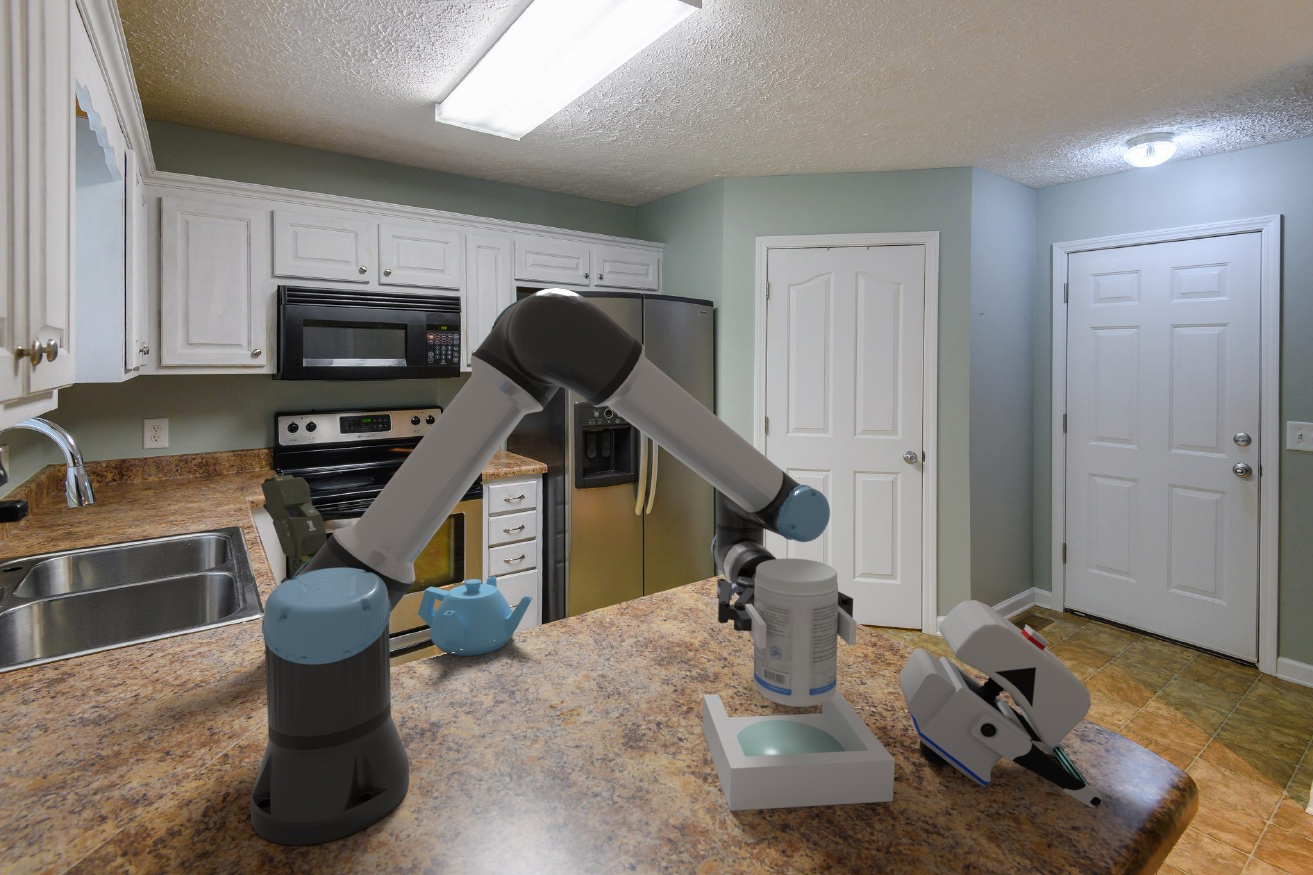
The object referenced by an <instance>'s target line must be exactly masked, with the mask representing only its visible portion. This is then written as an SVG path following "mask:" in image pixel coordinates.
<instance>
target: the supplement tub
mask: <svg viewBox="0 0 1313 875" xmlns="http://www.w3.org/2000/svg"><path fill="white" fill-rule="evenodd" d="M838 586H839V583H838V572H837V570H836V569H835V568H834V567H832V566H831V565H830V564H826V563H823V562H820V561H817V560H812V559H811V560H810V559H804V558H776V559H774V560H768V561H765V562H762V563H760V564H759V565H758V566H757V567H756V577H755V593H754V608H755V610H756V611H757V612H758V614H759V615H760V616H761V618H762V619H763V621H764V622H765V623H766V648H764V649H759V648H758V646H757V645H756V643H755V641H754V640H753V683H754V686H755V688H756V690H757V691H758V692H759V694H760V695H762V696H763V697H765V698H766V699H767V700H770V701H772V702H774V703H777V704H779V705H780V704H781V705H785V706H789V707H796V708H797V707H799V708H804V707H813V706H816V705H822V703H824V702H826V701H828V700H829V699H830V698H831V697H832V696H833V695H834V693H835V690H837V689H836V688H837V672H838V671H837V667H838V663H837V662H838V634H837V627H838V591H839V587H838Z"/></svg>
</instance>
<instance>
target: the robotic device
mask: <svg viewBox="0 0 1313 875" xmlns="http://www.w3.org/2000/svg"><path fill="white" fill-rule="evenodd" d="M1024 626H1025V627H1024V628H1023V629H1021V628H1019V627H1018V626H1016V625H1015V624H1014V623H1012V622H1011V621H1010V620H1008V619H1007V618H1006V617H1004V616H1003V615H1002V614H1000V613H999V612H997V611H996V610H994V608H992V607H990V606H989V605H988V604H986V603H983V602H981V601H979V600H976V599H974V600H973V599H972V600H963V601H962V602H960V603H958V605H956V606H954V607H953V608H952V609H951V610H950V612H949V613H948V614H947V615H946V616H945V618H943V620H942V621H941V622H940V624H939V627H938V629H939V632H940V634H941V636H942V637H943V639H944V640H945V642H946V643H947V645H948V647H949V648H950V650H951V651H952V653H953V655H954V657H955V658H956V659H957V660H958V661H960V662H961V663H962V664H964V665H968V666H969V667H971V668H974V669H975V670H977V671H979V672H981V673H982V674H984V675H986V676H987V677H988V678H987V681H984V682H983V684H982V683H980V682H979V681H977V680H976V679H975V678H974V677H973V676H971V675H970V674H969V673H967V672H966V671H965V670H963V669H962V668H961V667H959V666H958V665H957V664H955V662H953V661H951V660H950V659H949V658H947V657H946V656H945V655H943V656H941V657H940V658H937V657H936V656H935V655H933V654H932V653H931V652H929V651H928V650H926V649H925V648H921V647H920V648H916V649H914V651H913V652H912V653H911V655H910V657H909V658H908V660H907V661H906V664H905V665H904V666H903V668H902V670H901V671H900V673H899V675H898V679H897V680H898V684H899V686H900V689H901V692H902V695H903V697H904V701H905V702H906V703H905V704H906V706H907V709H908V712H909V715H910V717H911V719H912V722H913V725H914V728H915V730H916V732H917V735H918V738H919V740H920V741H919V751H920V753H921V755H922V756H923V758H924V759H925V760H926V761H927V762H928V763H930V764H931V765H934V766H937V767H939V766H941V767H942V766H947V765H951V766H952V767H954V769H956V770H957V771H959V772H960V773H961V774H962V775H964V776H965V777H966V778H968V779H969V780H971V781H973V782H974V783H976V784H978V785H979V786H982V787H986V786H987V785H989V784H990V783H991V780H992V779H991V776H992V769H994V768H995V766H996V765H997V764H998V763H999V762H1000V760H1002V758H1005V759H1006V760H1008V761H1009V762H1014V763H1015V764H1017V765H1018V766H1020V767H1023V768H1025V769H1026V770H1028V771H1029V772H1031V773H1033V774H1035V775H1037V776H1038V777H1041V778H1042V779H1045V781H1048V782H1050V783H1052V784H1053V785H1055V786H1057V787H1058V788H1060V789H1062V791H1063V792H1065V793H1066V794H1068V795H1069V796H1071V797H1073V798H1075V800H1076V799H1077V801H1079V802H1081V803H1082V804H1085V805H1086V806H1087V807H1090V808H1096V807H1098V806H1099V805H1100V804H1101V803H1102V801H1103V797H1102V794H1101V793H1100V792H1099V791H1098V790H1097V789H1095V788H1093V787H1092V786H1091V785H1090V784H1089V782H1088V781H1087V779H1085V777H1084V775H1082V773H1081V772H1080V770H1079V769H1078V768H1077V766H1076V765H1075V764H1074V763H1073V761H1072V760H1071V758H1070V757H1069V756H1068V755H1067V753H1066V752H1065V751H1066V750H1065V747H1064V746H1063V744H1062V743H1061V742H1062V741H1063V740H1064V739H1065V738H1066V737H1067V736H1068V735H1069V734H1070V732H1072V731H1073V729H1075V728H1076V727H1077V726H1078V725H1079V723H1081V722H1082V720H1083V719H1084V718H1085V717H1086V716H1087V714H1088V712H1089V711H1090V709H1091V706H1092V701H1091V694H1090V693H1091V692H1090V691H1089V690H1088V689H1087V687H1086V686H1085V685H1084V684H1083V682H1082V681H1081V680H1080V679H1079V677H1077V676H1076V675H1075V674H1074V673H1073V672H1072V671H1071V670H1070V669H1069V668H1068V667H1067V666H1065V664H1064V663H1063V662H1062V661H1061V660H1060V659H1059V658H1058V657H1057V656H1056V655H1055V654H1054V653H1053V652H1052V651H1050V650H1049V649H1048V648H1047V646H1051V644H1050V642H1049V641H1048V640H1047V639H1046V638H1045V637H1044V636H1043V635H1041V634H1040V633H1039V632H1037V631H1036V630H1034V628H1032V627H1031V626H1029V625H1028V624H1025V625H1024ZM1003 691H1006V692H1007V693H1008V694H1009V695H1010V696H1011V698H1012V700H1013V703H1014V706H1016V708H1017V710H1019V712H1018V711H1017V710H1016V709H1014V708H1013V707H1012V706H1011V705H1009V703H1007V702H1006V701H1005V700H1003V699H1002V698H1001V697H999V696H1000V695H1001V693H1003ZM1044 751H1045V752H1044ZM1047 753H1048V754H1050V755H1051V756H1052V757H1054V758H1055V757H1056V759H1057V760H1058V761H1059V763H1060V764H1059V763H1058V762H1056V761H1055V760H1054V759H1053V758H1052V757H1050V756H1049V755H1048V754H1047Z"/></svg>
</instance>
